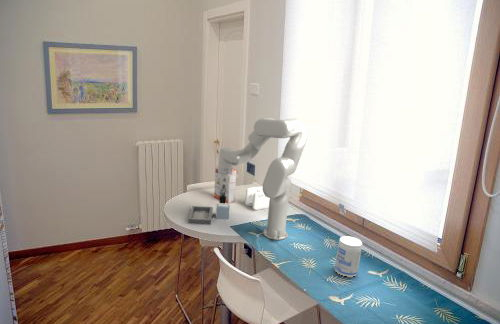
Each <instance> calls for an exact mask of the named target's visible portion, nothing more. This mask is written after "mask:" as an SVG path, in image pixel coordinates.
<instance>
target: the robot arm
mask: <svg viewBox="0 0 500 324" xmlns="http://www.w3.org/2000/svg"><path fill="white" fill-rule="evenodd" d="M287 138H289V139H288V141H287V142H286V144H285V147H284V150H283V152H282V154H281V156H280V157H277V158H275V159H273V160H272V161H271V163H270V164H269V166H268V169H267V171H266V174H265V177H264V179H263V183H262V186H263V187H262V189H263V193H264V195H265V196H266V197H268V198H270V201H269V209H267V210H268V212H267V220H266V221H267V222H266V228H265V229H264V230H263V231H262V233H263V236H265V237H266V238H268V239H270V240H276V241H281V240H285V239H287V238H288V236H289V233H288V231H286V230H287V229H286V228H287V217H288V207H289V201H290V195H291V192H292V187H293V184H292V181H291V178H290V177H289V176H291V175H293V174H294V173H295V171H296V170H297V167H298V164H299V162H300V160H301V157H302V154H303V152H304V148H305V146H306V144H307V141H308V130H307V128H306V125H305V124H304V123H303V121H301V120H300V119H297V118H287V119H285V118H284V119H275V118H273V117H264V118H260V119H257V120H256V121H255V122H254V124H253V131H252V132H251V133H250V134H249V135H248V141H249V142H248V144H247V145H246V146H244V147H243V148H242V149H238V150H234V149H233V148H231V147H221V148H220V150H219V157H218V158H219V159H218V166H219V167H218V173H219V174H220V199H219V203H218V204H226V192H229V181H230V175H231V174H232V169H233V166H240V165H243V164H246V163H248V162H250V161H252V159H253V158H255V157H256V156H257V155H258V154H259V152H260V151H261V148H262V146H264V144H265V143H266V142H268V141H269V140H270V139H287Z"/></svg>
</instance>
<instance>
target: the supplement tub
mask: <svg viewBox="0 0 500 324" xmlns="http://www.w3.org/2000/svg"><path fill="white" fill-rule="evenodd" d="M362 250H363V242H362V240H360V239H359V238H357V237H353V236H348V235H347V236H341V237H340V238H339V241H338V246H337V252H336V257H335V262H334V263H335V264H334V272H335V273H336V272H337V273H336V274H338V275H339V274H340V275H339V276H341V275H343V276H342V277H344V276H347V277H346V278H354V277H353V276H355V277H357V276H358V273H359V266H360V260H361V255H362V254H361V253H362Z"/></svg>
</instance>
